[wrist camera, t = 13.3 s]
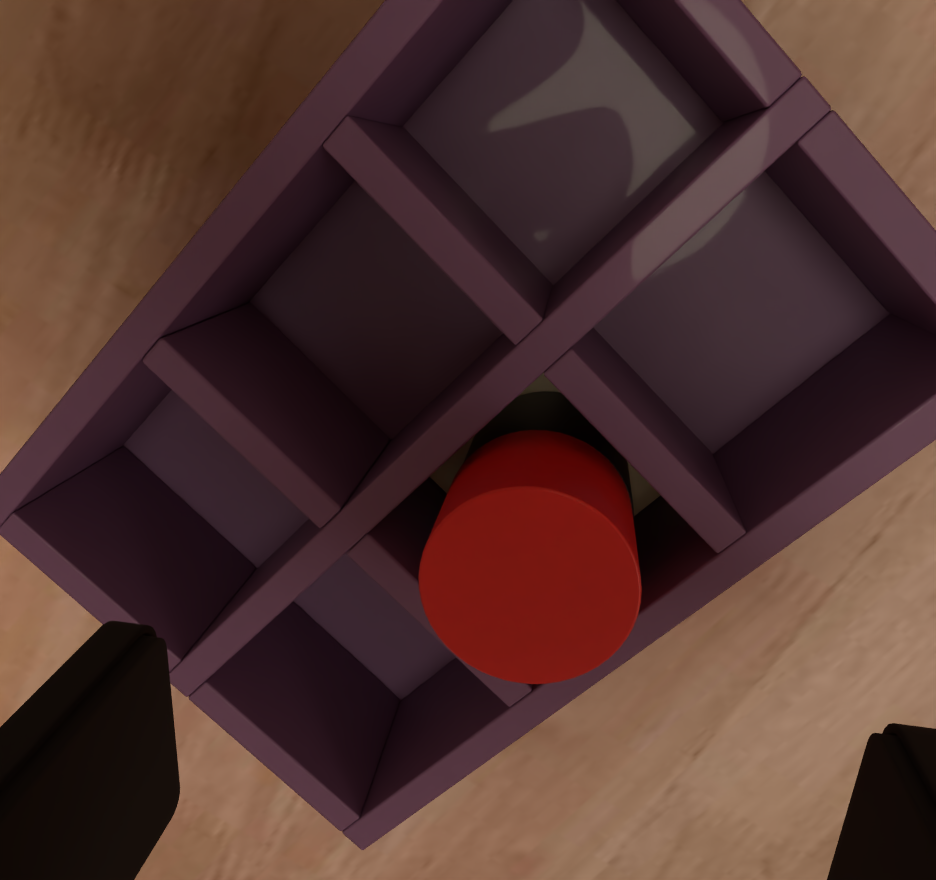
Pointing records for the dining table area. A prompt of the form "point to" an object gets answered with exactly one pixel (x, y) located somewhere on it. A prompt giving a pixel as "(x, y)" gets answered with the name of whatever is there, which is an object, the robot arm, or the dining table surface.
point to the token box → (482, 367)
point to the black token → (550, 426)
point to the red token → (533, 560)
